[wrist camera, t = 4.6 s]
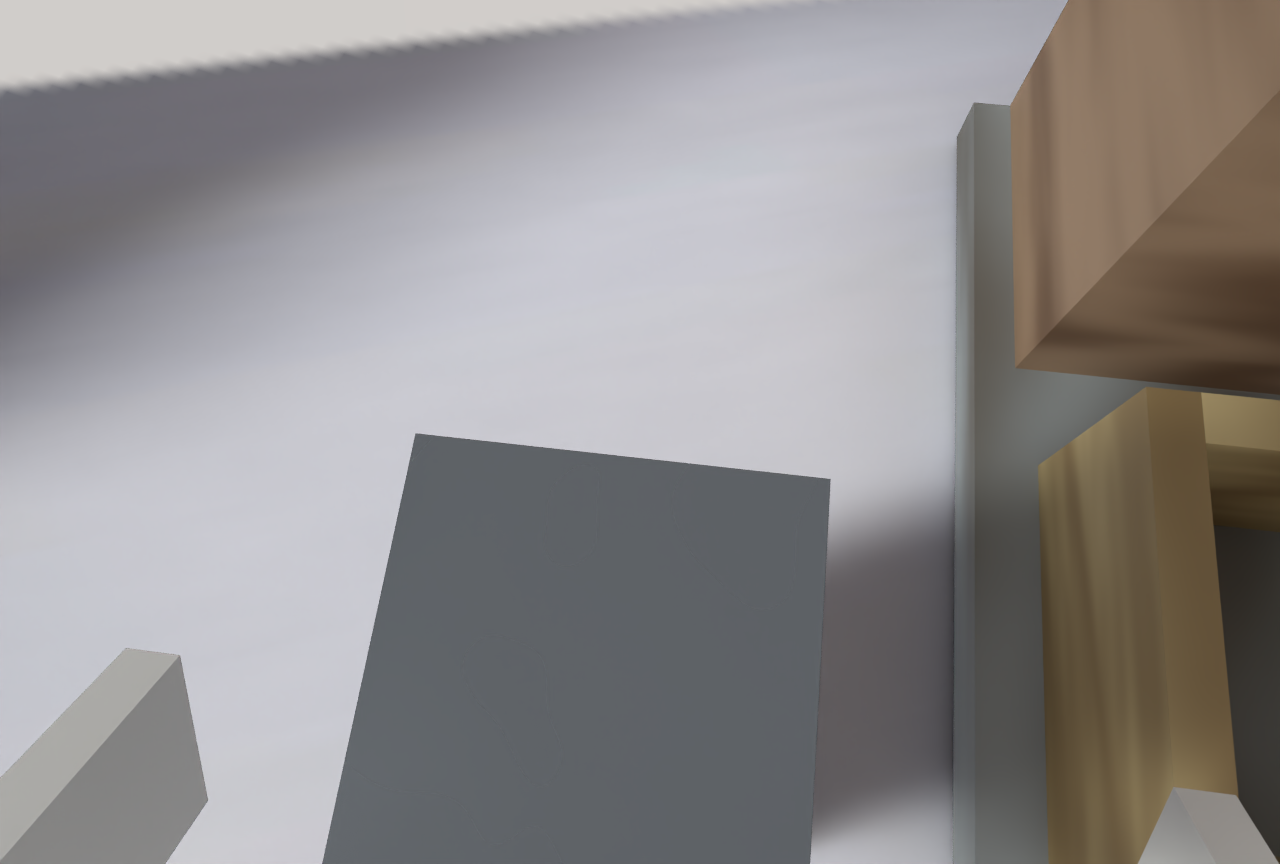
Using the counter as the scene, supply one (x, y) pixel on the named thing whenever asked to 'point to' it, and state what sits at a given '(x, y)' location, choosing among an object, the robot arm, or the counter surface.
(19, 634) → the counter surface
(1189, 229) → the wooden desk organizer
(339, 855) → the grey block
